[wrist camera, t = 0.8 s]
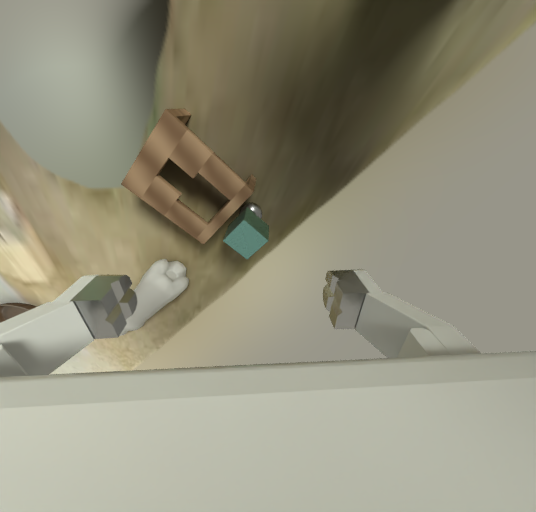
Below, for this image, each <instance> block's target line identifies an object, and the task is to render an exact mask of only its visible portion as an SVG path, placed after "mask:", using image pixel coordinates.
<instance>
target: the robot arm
mask: <svg viewBox="0 0 536 512" xmlns="http://www.w3.org/2000/svg"><path fill="white" fill-rule="evenodd" d="M326 281H327V283H328V284H327V285H326V286H325V287H324V290H323V301H324V305H325V307H326V309H327V310H328V311H330V315H329V317H330V319H331V322H332V324H333V327H334V328H335V329H355V330H356V331H357V332H358V333H360V334H361V335H362V336H363V337H364V338H365V339H366V340H368V341H369V342H370V343H371V344H372V345H373V346H374V347H376V348H377V349H378V350H379V351H380V352H381V353H383V354H384V355H385V356H386V357H387V358H380V359H360V360H341V361H320V362H298V363H279V364H258V365H257V364H256V365H235V366H217V367H216V366H215V367H195V368H174V369H154V370H134V371H113V372H93V373H72V374H52V375H49V374H50V373H51V372H53V371H54V370H55V369H57V368H58V367H59V366H61V365H62V364H63V363H65V362H66V361H67V360H69V359H70V358H71V357H73V356H74V355H75V354H76V353H78V352H79V351H80V350H82V349H83V348H84V347H86V346H87V345H88V344H90V343H91V342H92V341H94V339H101V338H116V337H119V335H120V334H121V332H122V331H123V329H124V328H125V326H126V324H127V322H126V319H127V318H129V317H130V316H132V315H133V313H134V312H135V310H136V307H137V296H136V293H135V292H134V291H133V290H132V289H130V287H131V285H132V282H131V280H130V277H129V276H127V275H86V276H82V277H81V278H80V279H79V280H77V281H76V282H75V283H74V284H73V285H72V286H70V287H69V288H68V289H67V290H66V291H65V292H63V293H62V294H61V295H60V296H59V297H58V298H56V299H55V300H54V301H53V302H47V303H45V304H42V305H40V306H38V307H36V308H33V309H31V310H29V311H26V312H24V313H22V314H19V315H17V316H15V317H12V318H10V319H8V320H6V321H3V322H1V323H0V512H536V351H523V352H503V353H480V351H479V350H477V349H476V347H474V346H473V345H472V344H471V343H470V342H469V341H468V340H467V339H466V338H465V337H464V336H463V335H462V334H461V333H460V332H459V331H458V330H457V329H456V328H455V327H454V326H452V325H450V324H448V323H447V322H444V321H443V320H441V319H438V318H437V317H435V316H433V315H430V314H429V313H427V312H425V311H423V310H421V309H418V308H417V307H415V306H413V305H411V304H409V303H407V302H405V301H403V300H401V299H399V298H396V297H394V296H392V295H390V294H389V293H383V292H382V290H380V288H379V287H378V286H377V284H376V283H375V282H374V281H373V279H372V278H371V277H370V276H369V275H368V274H367V272H366V271H365V270H363V269H357V270H340V271H328V272H327V274H326Z"/></svg>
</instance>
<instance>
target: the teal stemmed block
mask: <svg viewBox="0 0 536 512" xmlns="http://www.w3.org/2000/svg"><path fill="white" fill-rule="evenodd" d="M261 218H262V211H261V209H260V207H259V206H258V205H256V204H254V203H247V204H245V205H243V206H242V208H241V210H240V213H239V216H238V217H237V218H236V219H235V220H234V221H233V222H232V223H231V224H230V225H229V226H228V228H227V231H226V234H225V236H224V239H223V241H224V242H225V243H226V244H228V245H229V246H230V247H232V248H233V249H234V250H235V251H237V252H238V253H239V254H241V255H242V256H243V257H244V258H246V259H248V258H249V257H250V256H252V255H253V254H254V253H255V252H256V251H257V250H258V249H260V248H261V247H262V246H263V245H264V244H265V243H266V242H268V237H269V226H268V225H267V224H266V223H265V222H264V221H263V220H261Z"/></svg>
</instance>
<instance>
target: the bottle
mask: <svg viewBox="0 0 536 512" xmlns="http://www.w3.org/2000/svg"><path fill="white" fill-rule="evenodd" d="M188 284H189V278H187V277H186V267H185V266H184V265H183V264H182V263H180V262H179V261H173V262H168V261H167V260H166V259H160V260H158V261H155V262H154V264H153V265H152V266H151V267H150V268H149V269H148V270H147V272H146V273H145V274H144V275H143V277H142V279H141V281H140V283H139V284H138V285H137V287H136V288H135V289H134V292H135V293H136V296H137V307H136V310H135V312H134V313H133V315H132V316H130V317H129V318H127V319H126V322H127V324H126V326H125V328H124V329H123V331H122V332H121V334H120V335H119V336H121V335H124V334H126V333H127V332H128V331H133V330H137V329H139V328H140V327H142V326H143V325H144V323H145V321H146V320H147V319H149V318H150V317H151V316H153V315H154V314H155V313H156V312H158V311H159V310H160V309H161V308H162V307H164V306H165V305H166V304H167V303H169V302H171V301H172V300H174V299H175V298H176V297H177V296H179V295H180V294H181V293H182V292H183V291H184V290H185V289H186V288H187V286H188Z"/></svg>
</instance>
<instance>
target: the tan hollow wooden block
mask: <svg viewBox="0 0 536 512" xmlns="http://www.w3.org/2000/svg"><path fill="white" fill-rule="evenodd" d="M190 116H191V114H190V113H189V112H188V111H187V110H186V109H165V111H164V113H163V114H162V116H161V118H160V119H159V121H158V123H157V125H156V126H155V128H154V130H153V131H152V133H151V135H150V136H149V138H148V140H147V141H146V143H145V145H144V146H143V148H142V150H141V151H140V153H139V155H138V156H137V158H136V160H135V162H134V163H133V165H132V167H131V168H130V170H129V172H128V173H127V175H126V177H125V179H124V180H123V182H122V183H121V184H122V185H123V186H124V187H126V188H127V189H128V190H130V191H131V192H132V193H134V194H135V195H137V196H138V197H139V198H141V199H142V200H143V201H145V202H146V203H147V204H149V205H150V206H152V207H153V208H154V209H156V210H157V211H158V212H160V213H161V214H162V215H164V216H165V217H167V218H168V219H169V220H171V221H172V222H173V223H175V224H176V225H177V226H179V227H180V228H182V229H183V230H184V231H186V232H187V233H188V234H190V235H191V236H192V237H194V238H195V239H197V240H198V241H199V242H201V243H202V244H203V245H204V244H205V242H206V241H207V240H208V239H209V238H210V237H211V236H212V235H213V234H214V233H215V232H216V231H217V230H218V229H219V228H220V227H221V226H222V225H223V224H224V223H225V222H226V221H227V220H228V218H229V217H230V216H231V215H232V214H233V213H234V212H235V211H236V210H237V209H238V208H239V207H240V206H241V205H242V204H243V203H244V202H245V201H246V200H247V199H248V198H249V197H250V195H251V194H252V193H253V192H254V188H255V183H256V178H255V177H254V176H253V175H251V176H250V177H249V178H248V179H247V180H246V181H244V180H243V179H241V178H240V177H239V176H238V175H237V174H236V173H235V172H234V171H233V170H232V169H231V168H230V167H229V166H228V165H227V164H226V163H225V162H224V161H223V160H221V159H220V158H219V157H218V156H217V155H216V154H215V153H214V152H213V151H212V150H211V149H210V148H209V147H208V146H207V145H206V144H205V143H204V142H203V141H201V140H200V139H199V138H198V137H197V136H196V135H195V134H194V133H193V132H192V131H191V130H190V129H189V128H188V127H187V126H186V125H185V124H186V122H187V121H188V119H189V118H190ZM169 159H171V160H172V161H173V162H174V163H175V164H177V165H178V166H179V167H180V168H181V169H182V170H184V171H185V172H186V173H187V174H188V175H189V176H191V177H192V178H194V177H195V176H196V175H197V173H199V174H201V175H202V176H203V177H204V178H205V179H206V180H207V181H209V182H210V183H211V184H212V185H213V186H214V187H215V188H217V189H218V190H219V191H220V192H221V193H222V194H223V195H225V196H226V197H227V198H228V199H229V200H228V201H227V202H226V203H225V204H224V205H223V207H222V208H221V209H220V210H219V211H218V212H217V213H216V214H215V215H214V216H213V218H212V219H211V220H210V221H209V222H206V221H205V220H204V219H203V218H201V217H200V216H199V215H198V214H196V213H195V212H194V211H192V210H191V209H190V208H189V207H187V206H186V205H185V204H184V203H182V202H181V201H180V200H179V199H178V198H179V197H180V195H181V194H182V193H181V192H180V191H178V190H177V189H176V188H175V187H174V186H172V185H171V184H170V183H169V182H167V181H166V180H165V179H164V178H162V177H161V176H160V175H159V173H160V172H161V170H162V169H163V167H164V166H165V165H166V163H167V162H168V160H169Z"/></svg>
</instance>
